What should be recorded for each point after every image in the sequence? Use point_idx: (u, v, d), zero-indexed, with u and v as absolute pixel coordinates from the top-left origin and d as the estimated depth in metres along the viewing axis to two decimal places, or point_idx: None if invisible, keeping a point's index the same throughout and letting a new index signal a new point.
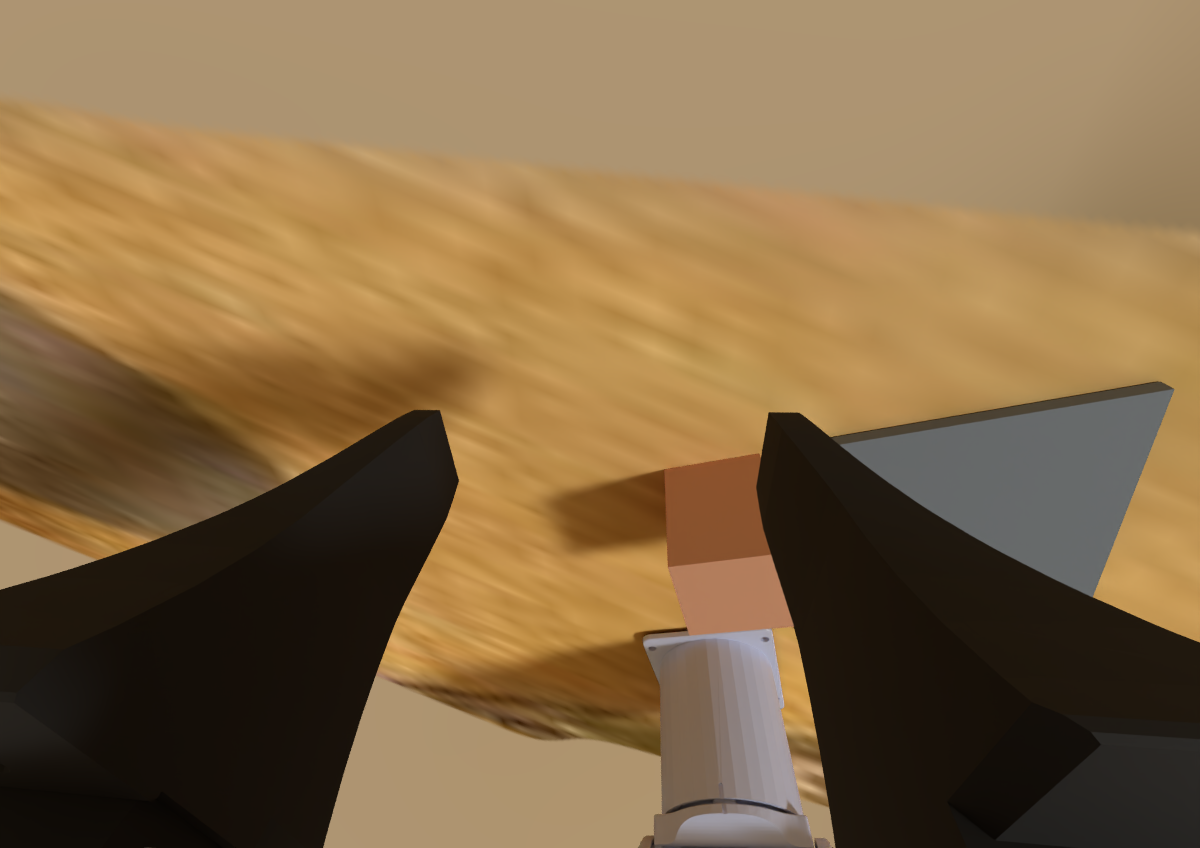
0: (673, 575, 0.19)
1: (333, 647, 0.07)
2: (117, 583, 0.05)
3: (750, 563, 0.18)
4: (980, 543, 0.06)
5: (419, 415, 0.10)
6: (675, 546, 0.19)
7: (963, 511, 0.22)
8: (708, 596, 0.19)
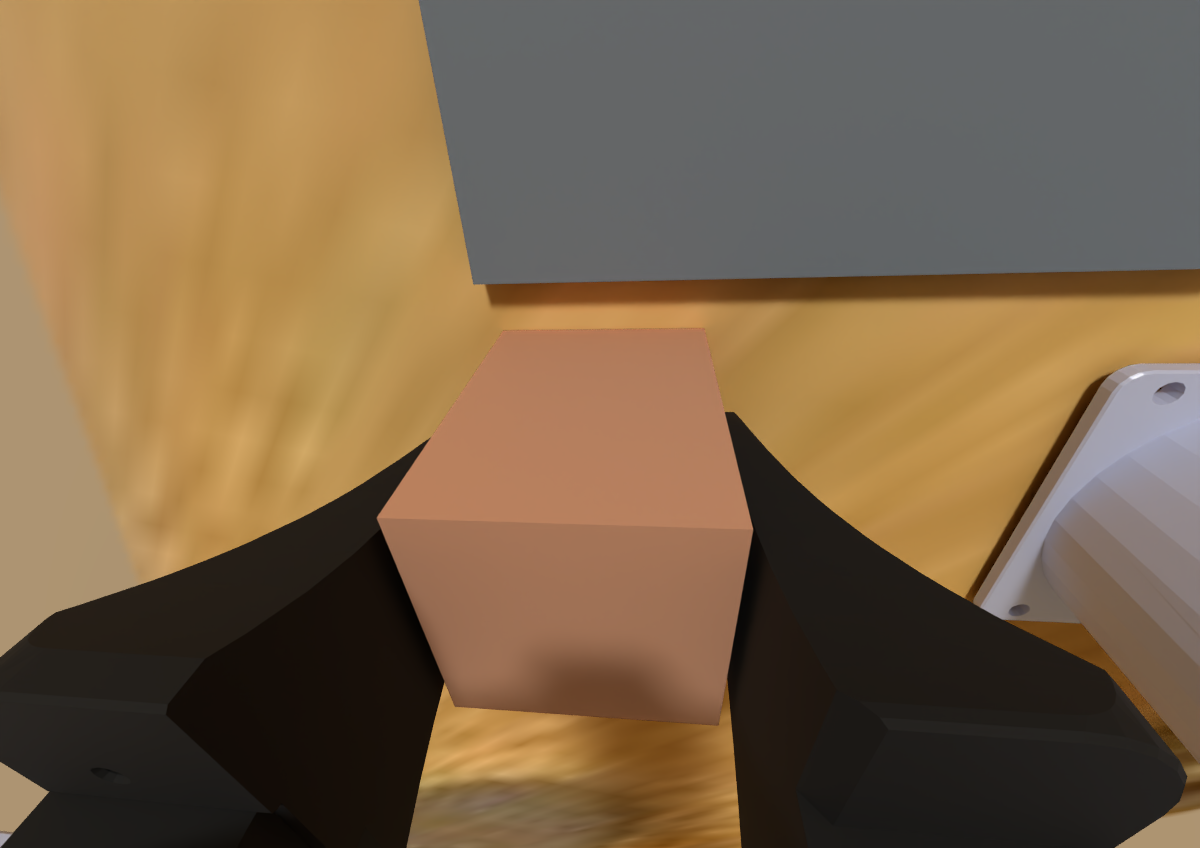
0: (482, 704, 0.08)
1: (412, 652, 0.07)
2: (226, 588, 0.05)
3: (430, 594, 0.07)
4: (869, 539, 0.06)
5: None
6: None
7: None
8: (561, 675, 0.07)
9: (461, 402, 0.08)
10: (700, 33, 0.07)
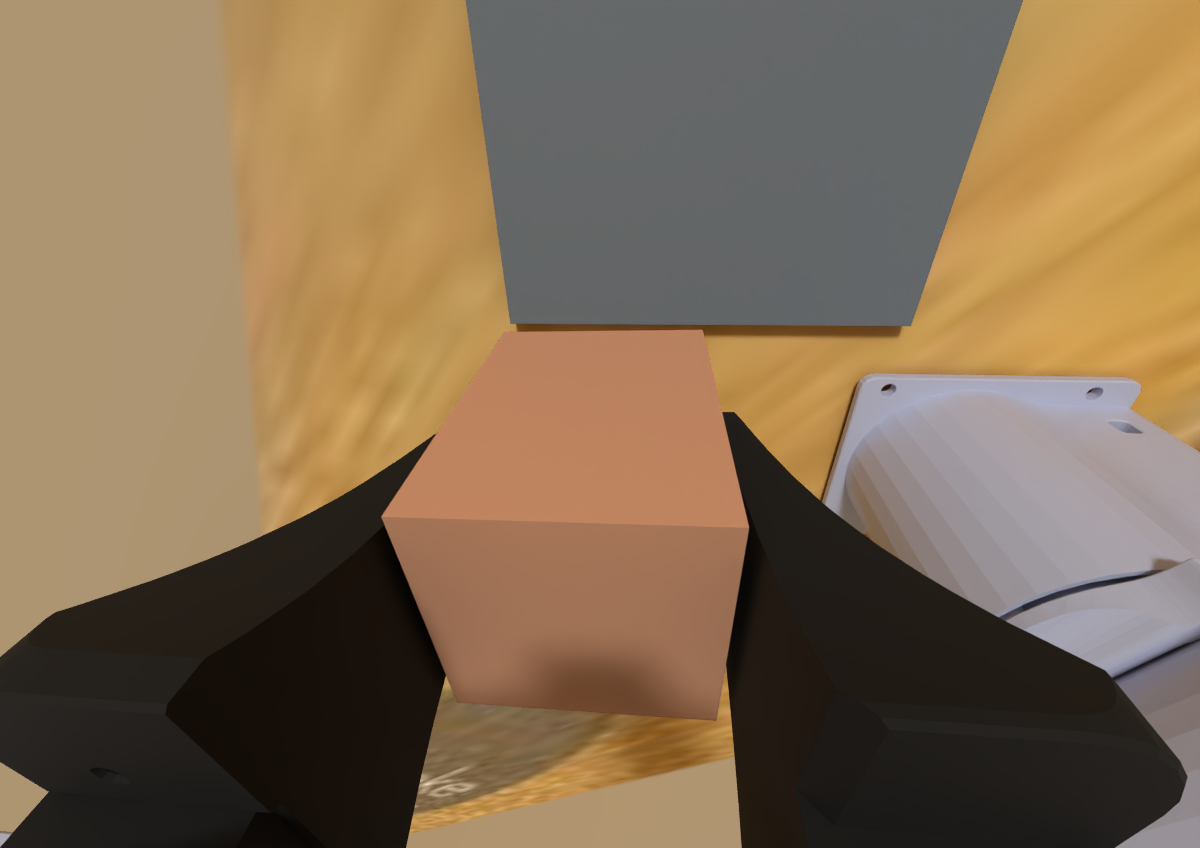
0: (484, 700, 0.08)
1: (412, 652, 0.07)
2: (226, 588, 0.05)
3: (432, 591, 0.07)
4: (869, 540, 0.06)
5: None
6: None
7: (658, 69, 0.13)
8: (562, 671, 0.08)
9: (462, 403, 0.08)
10: (627, 213, 0.15)
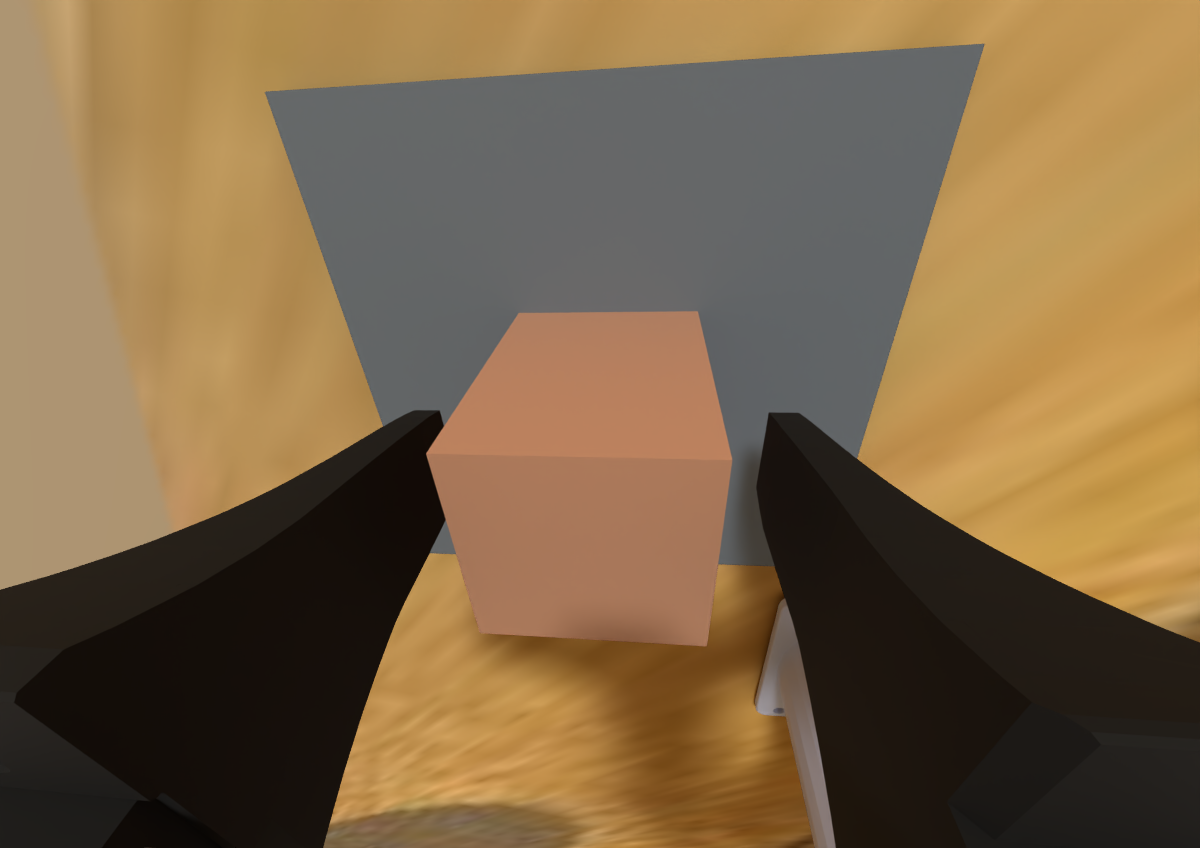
0: (504, 630, 0.10)
1: (333, 647, 0.07)
2: (118, 583, 0.05)
3: (465, 523, 0.08)
4: (980, 542, 0.06)
5: (418, 415, 0.10)
6: None
7: None
8: (573, 599, 0.09)
9: (487, 369, 0.09)
10: None
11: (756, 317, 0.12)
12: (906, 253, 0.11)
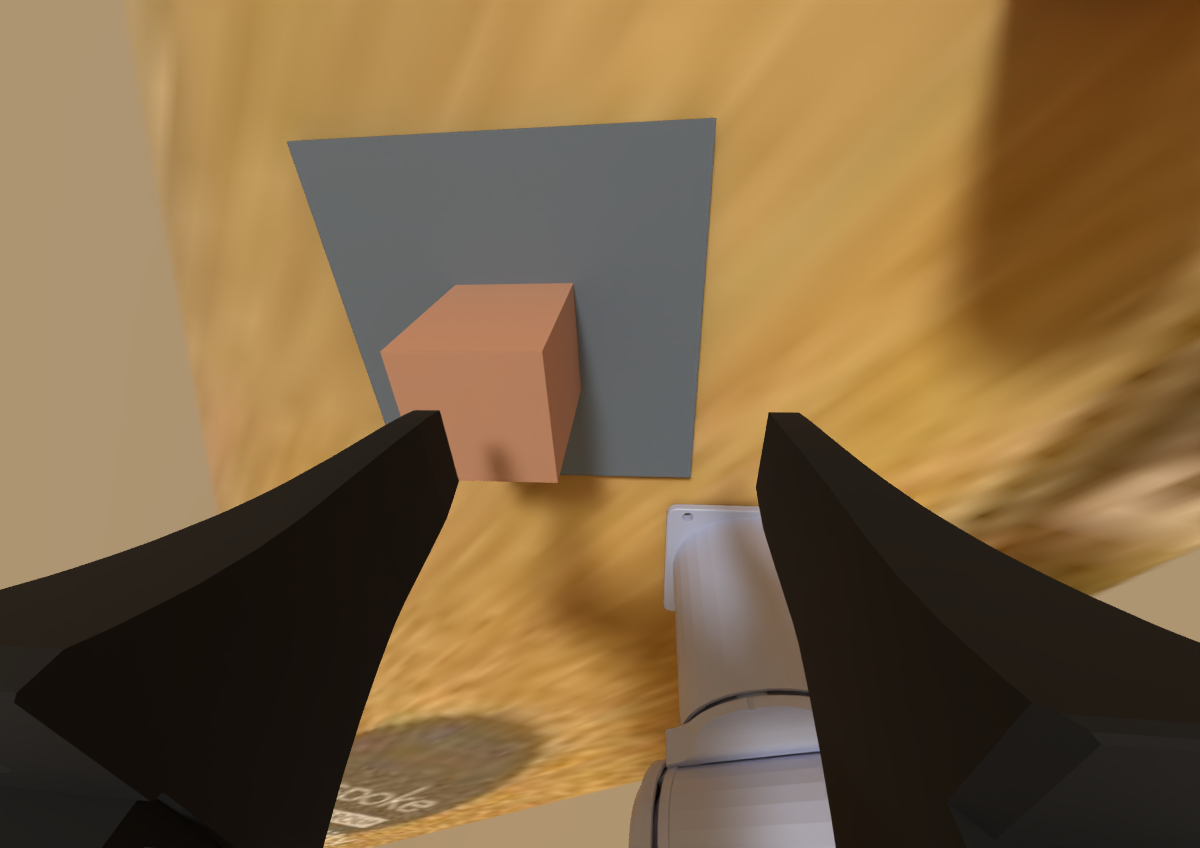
0: None
1: (333, 647, 0.07)
2: (118, 583, 0.05)
3: (405, 397, 0.14)
4: (980, 543, 0.06)
5: (418, 415, 0.10)
6: None
7: None
8: (473, 450, 0.15)
9: (424, 315, 0.15)
10: None
11: (611, 287, 0.18)
12: (698, 244, 0.16)
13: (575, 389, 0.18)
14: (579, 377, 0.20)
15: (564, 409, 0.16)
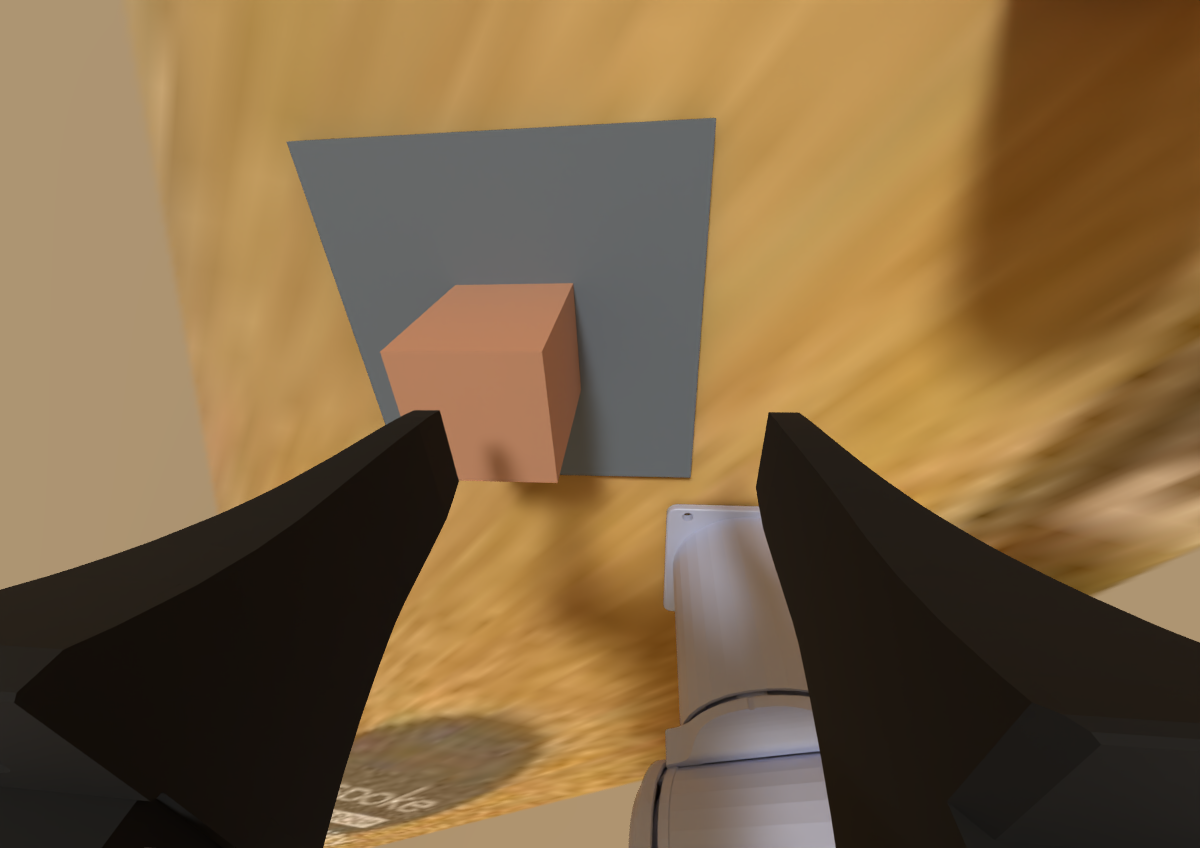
0: None
1: (333, 647, 0.07)
2: (118, 583, 0.05)
3: (405, 397, 0.14)
4: (980, 543, 0.06)
5: (419, 415, 0.10)
6: None
7: None
8: (473, 450, 0.15)
9: (424, 315, 0.15)
10: None
11: (611, 287, 0.18)
12: (698, 244, 0.16)
13: (575, 389, 0.18)
14: (579, 377, 0.20)
15: (564, 409, 0.16)
